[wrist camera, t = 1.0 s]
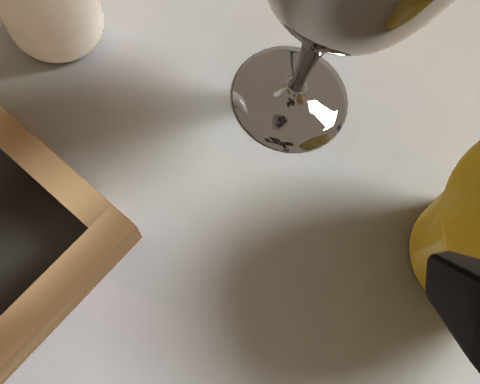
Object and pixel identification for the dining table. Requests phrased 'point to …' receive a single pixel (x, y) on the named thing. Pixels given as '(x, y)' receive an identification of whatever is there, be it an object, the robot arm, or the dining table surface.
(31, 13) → the drinking glass
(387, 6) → the wine glass
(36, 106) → the dining table surface
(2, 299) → the tray
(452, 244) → the plant pot
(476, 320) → the robot arm
